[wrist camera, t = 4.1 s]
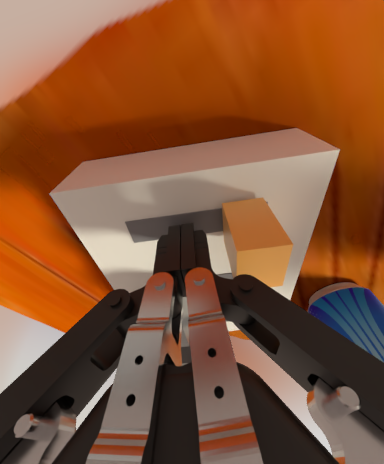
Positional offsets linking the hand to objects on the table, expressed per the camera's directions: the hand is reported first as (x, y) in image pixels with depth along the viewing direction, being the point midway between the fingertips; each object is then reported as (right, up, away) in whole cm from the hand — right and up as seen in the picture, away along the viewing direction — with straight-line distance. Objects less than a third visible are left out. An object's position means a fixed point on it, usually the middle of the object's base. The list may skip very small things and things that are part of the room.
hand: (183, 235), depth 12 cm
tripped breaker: (+4, +1, 0) cm, 4 cm away
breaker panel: (+2, -1, +8) cm, 9 cm away
